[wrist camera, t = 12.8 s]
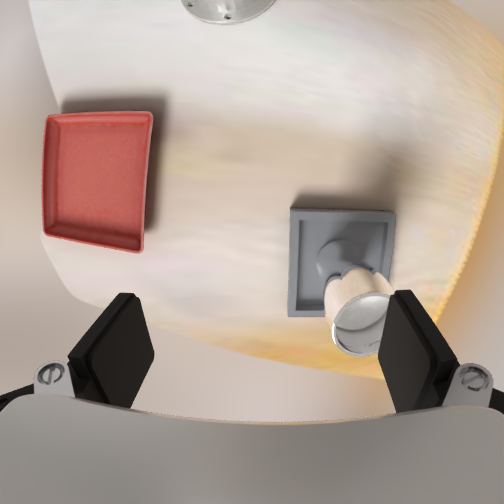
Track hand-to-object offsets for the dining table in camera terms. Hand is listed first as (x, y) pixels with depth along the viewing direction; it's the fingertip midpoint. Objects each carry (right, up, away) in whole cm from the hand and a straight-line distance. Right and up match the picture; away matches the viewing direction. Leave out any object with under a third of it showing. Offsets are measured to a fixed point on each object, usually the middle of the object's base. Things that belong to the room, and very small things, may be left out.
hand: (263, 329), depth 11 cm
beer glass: (+11, +2, +27) cm, 29 cm away
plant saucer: (-22, +13, +27) cm, 37 cm away
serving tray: (+11, +1, +28) cm, 30 cm away
